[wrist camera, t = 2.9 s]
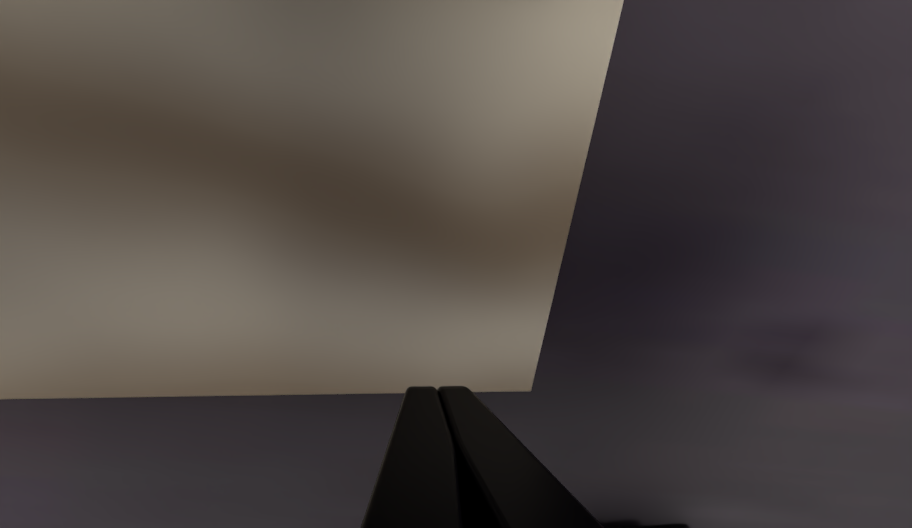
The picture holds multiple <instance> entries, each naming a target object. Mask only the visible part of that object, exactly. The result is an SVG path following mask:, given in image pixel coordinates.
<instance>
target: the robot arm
mask: <svg viewBox="0 0 912 528" xmlns="http://www.w3.org/2000/svg"><path fill="white" fill-rule="evenodd" d="M361 528H604V527H603V526H602V525H601V524H600V523H599V522H598V521H597V520H596V519H595V518H594V517H593V516H592V515H591V514H590V513H589V512H588V511H587V510H586V508H585V507H584V506H583V505H582V504H581V503H580V502H579V501H578V500H577V499H576V498H575V497H574V496H573V495H572V494H571V493H570V492H569V491H568V490H567V489H566V488H565V487H564V486H563V485H562V484H561V483H560V482H559V481H558V480H557V479H556V478H555V477H554V476H553V475H552V474H551V472H550V471H549V470H548V469H547V468H546V467H545V466H544V465H543V464H542V463H541V462H540V461H539V460H538V459H537V458H536V457H535V456H534V455H533V454H532V453H531V452H530V451H529V450H528V449H527V448H526V447H525V446H524V445H523V444H522V443H521V442H520V441H519V440H518V439H517V437H516V436H515V435H514V434H513V433H512V432H511V431H510V430H509V429H508V428H507V427H506V426H505V425H504V424H503V423H502V422H501V421H500V420H499V419H498V418H497V417H496V416H495V415H494V414H493V413H492V412H491V411H490V410H489V409H488V408H487V407H486V406H485V405H484V404H483V402H482V401H481V400H480V399H479V398H478V397H477V396H476V395H475V394H474V393H473V392H472V391H471V390H470V389H469V388H467V387H465V386H440V387H439V388H438V389H436V388H435V387H433V386H411V387H408V388H407V389H406V392H405V395H404V398H403V401H402V404H401V407H400V410H399V413H398V416H397V419H396V422H395V425H394V428H393V431H392V434H391V437H390V440H389V443H388V446H387V449H386V452H385V455H384V458H383V461H382V464H381V467H380V471H379V474H378V477H377V480H376V483H375V486H374V489H373V492H372V495H371V498H370V501H369V504H368V507H367V510H366V513H365V516H364V519H363V522H362V525H361Z"/></svg>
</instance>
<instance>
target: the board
mask: <svg viewBox="0 0 912 528" xmlns="http://www.w3.org/2000/svg"><path fill="white" fill-rule="evenodd" d="M623 2H624V0H0V399H46V398H112V397H178V396H244V395H310V394H376V393H405V392H406V389H407V388H408V387H411V386H433V387H435V388H436V389H438V388H439V387H440V386H465V387H467V388H469V389H470V390H471V391H472V392H509V391H531V388H532V384H533V380H534V376H535V371H536V367H537V363H538V359H539V355H540V350H541V346H542V342H543V338H544V334H545V329H546V325H547V321H548V317H549V313H550V308H551V304H552V300H553V296H554V292H555V287H556V283H557V279H558V275H559V271H560V266H561V262H562V258H563V254H564V250H565V245H566V241H567V237H568V233H569V228H570V224H571V220H572V216H573V212H574V207H575V203H576V199H577V195H578V191H579V186H580V182H581V178H582V174H583V170H584V165H585V161H586V157H587V153H588V149H589V144H590V140H591V136H592V132H593V128H594V123H595V119H596V115H597V111H598V107H599V102H600V98H601V94H602V90H603V86H604V81H605V77H606V73H607V69H608V65H609V60H610V56H611V52H612V48H613V44H614V39H615V35H616V31H617V27H618V23H619V18H620V14H621V10H622V6H623Z"/></svg>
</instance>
